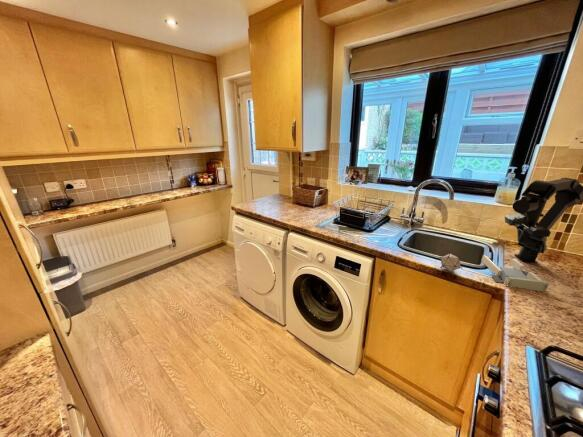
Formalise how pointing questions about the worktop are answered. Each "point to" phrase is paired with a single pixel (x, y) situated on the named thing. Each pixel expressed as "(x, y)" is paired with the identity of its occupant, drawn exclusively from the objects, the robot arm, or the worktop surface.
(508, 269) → the slate block
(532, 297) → the worktop surface
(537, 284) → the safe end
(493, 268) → the trap lane
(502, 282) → the block
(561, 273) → the worktop surface
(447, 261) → the game die
